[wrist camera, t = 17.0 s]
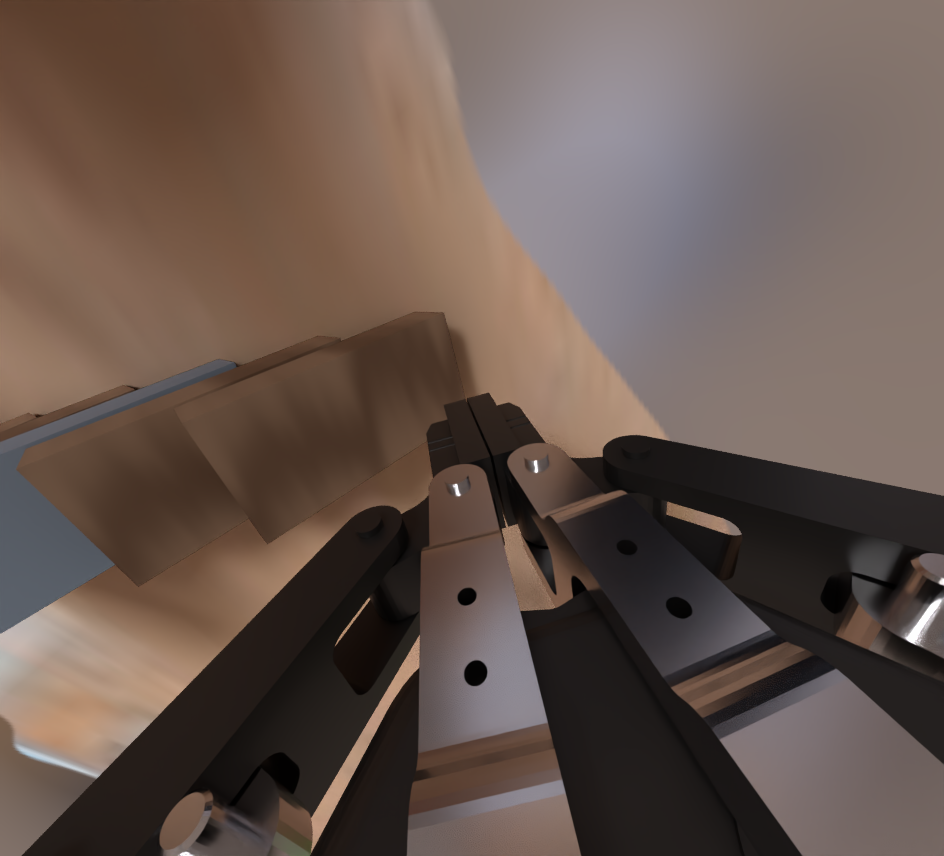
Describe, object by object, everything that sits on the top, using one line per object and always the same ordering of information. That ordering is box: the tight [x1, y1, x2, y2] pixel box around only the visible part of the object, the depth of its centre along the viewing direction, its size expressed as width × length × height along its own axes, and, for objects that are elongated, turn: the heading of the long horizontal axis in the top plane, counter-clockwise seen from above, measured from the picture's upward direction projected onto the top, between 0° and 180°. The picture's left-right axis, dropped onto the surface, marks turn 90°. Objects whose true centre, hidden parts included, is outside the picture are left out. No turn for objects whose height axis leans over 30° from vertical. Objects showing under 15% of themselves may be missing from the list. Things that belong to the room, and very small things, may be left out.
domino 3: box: [174, 312, 466, 544], centre depth 15 cm, size 5×2×10 cm
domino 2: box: [16, 336, 341, 587], centre depth 15 cm, size 5×2×10 cm
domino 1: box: [0, 359, 237, 633], centre depth 14 cm, size 5×2×10 cm
